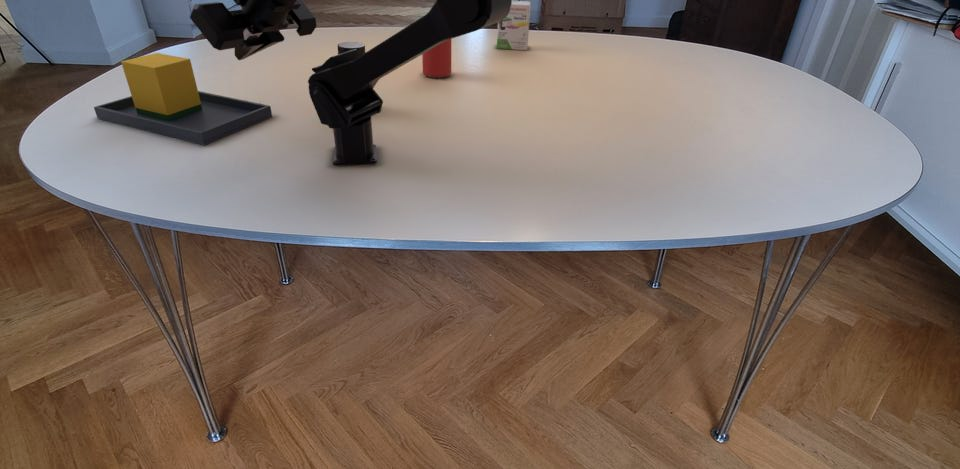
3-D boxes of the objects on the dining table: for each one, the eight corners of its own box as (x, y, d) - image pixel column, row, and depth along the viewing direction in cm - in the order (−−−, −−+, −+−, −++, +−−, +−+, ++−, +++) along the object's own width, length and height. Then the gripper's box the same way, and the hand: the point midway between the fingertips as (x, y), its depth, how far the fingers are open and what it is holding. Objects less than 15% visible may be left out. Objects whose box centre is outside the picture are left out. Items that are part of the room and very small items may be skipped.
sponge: (202, 109, 98) (190, 58, 94) (169, 121, 93) (154, 67, 88) (171, 102, 101) (157, 52, 96) (136, 113, 96) (120, 61, 91)
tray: (272, 117, 98) (270, 105, 97) (204, 145, 86) (201, 132, 85) (172, 95, 106) (169, 84, 105) (97, 118, 94) (93, 107, 93)
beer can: (436, 69, 129) (435, 15, 122) (457, 75, 125) (457, 20, 119) (416, 74, 124) (415, 19, 118) (437, 80, 121) (437, 23, 114)
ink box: (496, 48, 149) (498, 2, 143) (497, 44, 153) (499, -1, 147) (527, 50, 148) (530, 4, 142) (527, 46, 152) (531, 1, 146)
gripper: (292, -63, 82) (253, 10, 92) (181, -65, 68) (149, 22, 77) (338, -4, 83) (294, 63, 92) (238, 7, 68) (199, 85, 78)
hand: (238, 57), depth 85 cm, fingers closed
